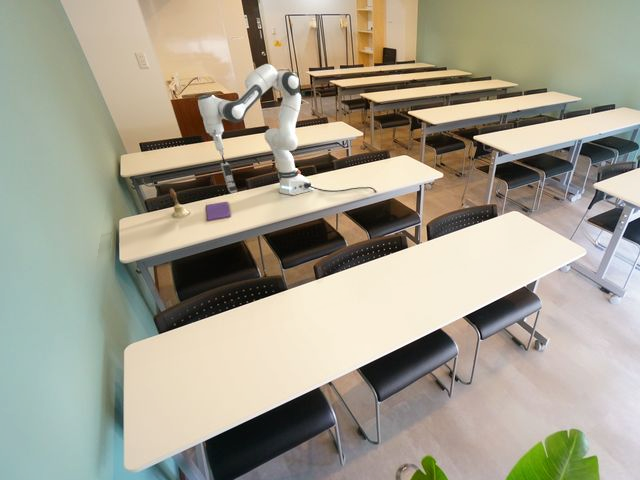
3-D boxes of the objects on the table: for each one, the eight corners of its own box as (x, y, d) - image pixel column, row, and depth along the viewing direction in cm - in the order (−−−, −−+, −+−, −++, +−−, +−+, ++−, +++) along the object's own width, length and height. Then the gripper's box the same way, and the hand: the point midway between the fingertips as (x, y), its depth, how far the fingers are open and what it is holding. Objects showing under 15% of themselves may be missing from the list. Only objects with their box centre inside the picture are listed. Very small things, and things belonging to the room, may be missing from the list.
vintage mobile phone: (230, 193, 201) (218, 150, 186) (228, 190, 204) (215, 148, 190) (237, 191, 203) (225, 149, 188) (234, 189, 206) (222, 147, 192)
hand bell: (169, 216, 200) (159, 190, 191) (181, 210, 206) (171, 185, 197) (180, 218, 198) (170, 192, 189) (192, 212, 204) (182, 187, 195)
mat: (227, 202, 216) (227, 201, 216) (230, 216, 200) (230, 215, 200) (206, 206, 212) (206, 204, 211) (208, 220, 196) (207, 219, 195)
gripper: (222, 132, 177) (229, 158, 185) (219, 123, 192) (226, 148, 200) (208, 133, 174) (217, 160, 182) (207, 124, 189) (215, 149, 197)
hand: (222, 154), depth 191 cm, fingers closed on vintage mobile phone
